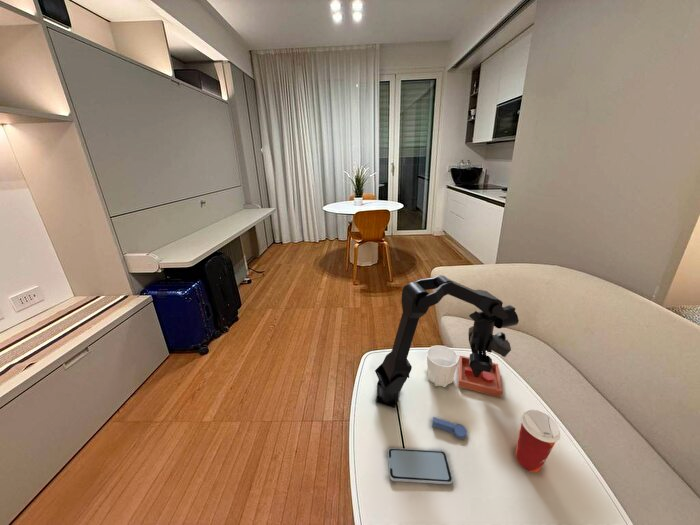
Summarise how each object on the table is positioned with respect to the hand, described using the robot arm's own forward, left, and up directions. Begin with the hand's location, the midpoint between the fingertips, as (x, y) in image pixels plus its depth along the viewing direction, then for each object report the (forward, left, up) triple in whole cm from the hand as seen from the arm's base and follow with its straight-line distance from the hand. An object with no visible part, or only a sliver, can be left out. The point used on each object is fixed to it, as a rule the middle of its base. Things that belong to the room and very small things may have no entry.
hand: (475, 366), depth 91 cm
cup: (-11, -5, -4) cm, 13 cm away
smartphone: (-14, -36, -4) cm, 39 cm away
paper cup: (+12, -25, -4) cm, 28 cm away
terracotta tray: (+1, 0, -4) cm, 5 cm away
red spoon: (+2, 0, -4) cm, 4 cm away
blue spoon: (-7, -23, -4) cm, 25 cm away
